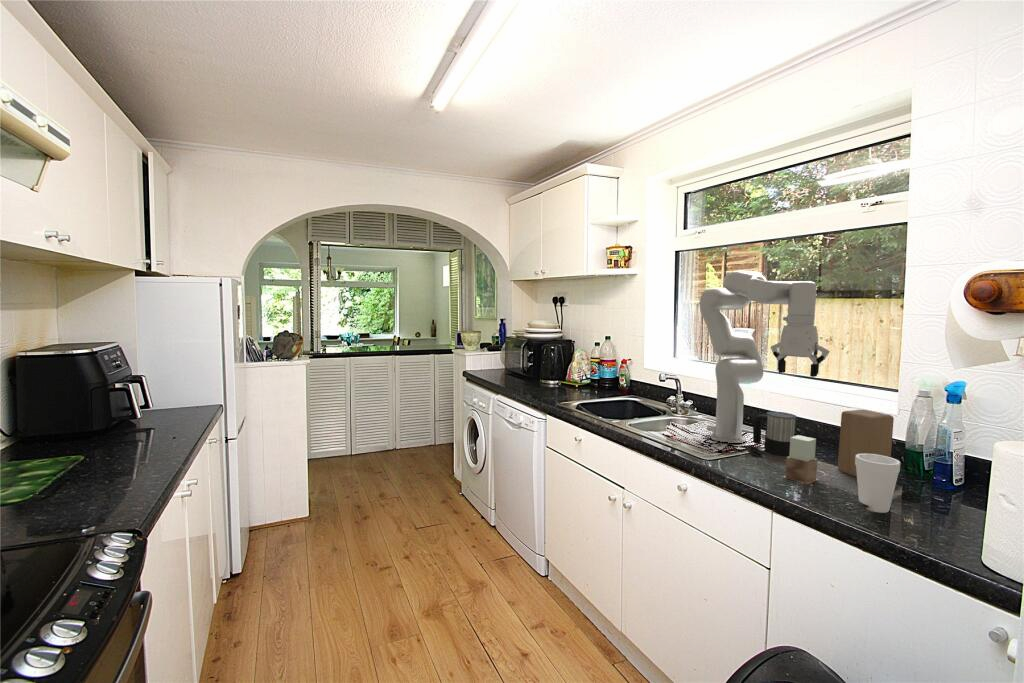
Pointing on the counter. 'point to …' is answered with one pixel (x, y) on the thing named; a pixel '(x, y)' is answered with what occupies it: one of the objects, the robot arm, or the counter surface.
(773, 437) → the milk frother
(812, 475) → the walnut block
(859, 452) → the block
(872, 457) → the foam cup
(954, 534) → the counter surface
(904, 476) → the counter surface
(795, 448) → the sage block
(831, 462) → the counter surface
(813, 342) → the robot arm
